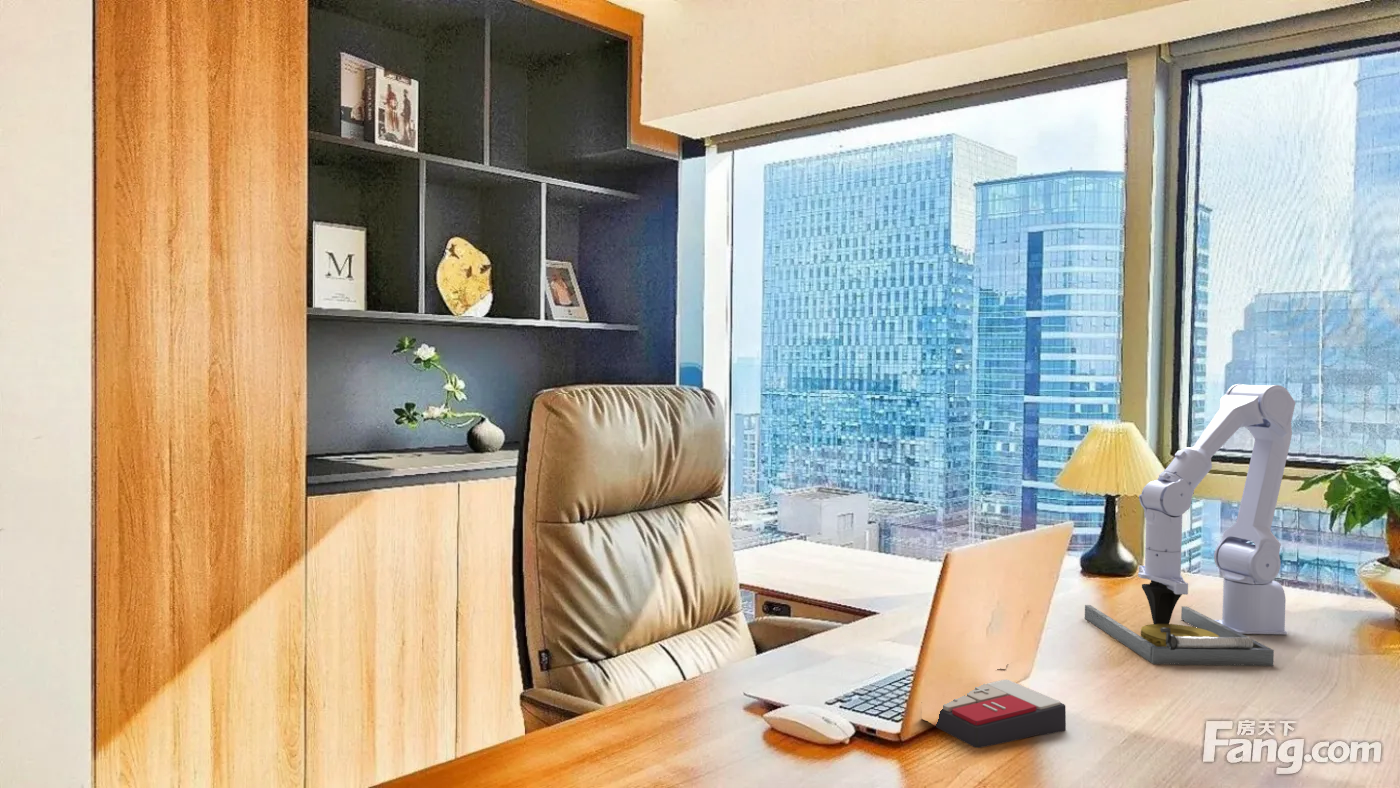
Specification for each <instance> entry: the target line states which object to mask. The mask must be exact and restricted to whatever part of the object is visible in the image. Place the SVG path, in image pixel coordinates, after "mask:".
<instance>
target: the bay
mask: <svg viewBox="0 0 1400 788" xmlns="http://www.w3.org/2000/svg"><path fill="white" fill-rule="evenodd" d="M1084 619H1085V620H1087V621H1088V622H1089V623H1091V624H1093V625H1094V626H1095V627H1097V628H1098V629H1100V630H1102V631H1103V632H1104V633H1105V634H1107V635H1110V636H1111V637H1112V638H1113V639H1115V640H1117V641H1118V642H1120V643H1121V644H1122V645H1124V646H1125V647H1126V648H1128V649H1130V650H1132V652H1135V653H1136V654H1137V655H1139V656H1141V657H1142V658H1143V659H1145V660H1146V661H1147V662H1149V663H1151V664H1152V665H1184V666H1185V665H1187V666H1189V665H1191V666H1192V665H1194V666H1195V665H1196V666H1197V665H1199V666H1201V665H1202V666H1263V667H1264V666H1265V667H1268V666H1269V667H1273V666H1274V663H1275V661H1274V659H1275V658H1274V657H1275V653H1274V652H1275V649H1272V648H1270V647H1268V646H1266V645H1264V644H1262V643H1260V642H1259V641H1258V640H1257V641H1256V640H1255V639H1253V638H1251V637H1248V636H1247V635H1246V634H1241V633H1239V632H1237V631H1235V630H1233V629H1231V628H1229V627H1227V626H1225V625H1223V624H1221V623H1219V622H1217V621H1215V620H1216V619H1213V618H1211V617H1209V616H1207V615H1205V614H1203V613H1201V612H1199V611H1197V610H1195V609H1193V608H1191V607H1189V606H1188V605H1187V606H1181V617H1180V619H1182V620H1181V621H1183V620H1184V621H1183V622H1184V623H1186V622H1187V624H1188V623H1189V625H1190V624H1191V625H1190V626H1192V625H1193V626H1192V627H1194V626H1195V627H1197V628H1200V629H1204V630H1207V631H1210V632H1213V633H1215V634H1217V635H1218V636H1219V637H1186V636H1174V635H1173V634H1170V628H1161V629H1160V630H1161V632H1166V645H1167V647H1157V646H1155V645H1154V644H1152V643H1150V642H1149V641H1147V640H1146V639H1144V638H1142V637H1141V635H1139V634H1137V633H1136V632H1134V631H1133V630H1131V629H1129V628H1128V627H1126V626H1125V625H1123V624H1121V623H1120V622H1118V621H1117V620H1115V619H1114V618H1113V617H1110V616H1109V615H1107V614H1106V613H1103V612H1102V611H1101V610H1099V609H1098V608H1096V607H1094V606H1093V605H1091V604H1085V605H1084Z"/></svg>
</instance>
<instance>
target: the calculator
mask: <svg viewBox="0 0 1400 788" xmlns="http://www.w3.org/2000/svg"><path fill="white" fill-rule="evenodd" d="M1066 709H1067V708H1066V704H1065V703H1063V702H1061V701H1059V700H1057V699H1055V698H1053V697H1050V696H1048V695H1046V694H1043V693H1042V692H1038V691H1036V690H1034V689H1031V688H1029V687H1027V686H1024V685H1021V684H1019V683H1016V682H1015V681H1012V680H1010V679H1001V680H996V681H993V682H989V683H988V682H987V683H984V684H983V685H981V686H979V687H975V689H974V690H972V691H970V692H969V693H967V696H965V695H964V696H962V697H960V698H958V699H954V700H953V701H951V702H949V703H947V704H944V705H943V709H942V710H941V711H940V714H939V719H938V722H937V724H936V727H935V728H937V729H939V730H941V731H943V732H944V733H945V734H946V733H947V734H948V735H950V736H952V737H954V738H956V739H958V740H959V741H962V742H963V743H966V744H967V745H969V746H972V747H973V748H976V749H979V748H984V747H990V746H994V745H1000V744H1004V743H1010V742H1015V741H1018V740H1022V739H1027V738H1030V737H1034V736H1037V735H1040V736H1045V735H1050V734H1054V733H1060V732H1065V731H1066V729H1067V726H1066V725H1067V723H1066V720H1067V717H1066V712H1067V711H1066Z"/></svg>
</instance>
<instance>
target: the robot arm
mask: <svg viewBox="0 0 1400 788" xmlns="http://www.w3.org/2000/svg"><path fill="white" fill-rule="evenodd" d="M1295 407H1296V401H1295V400H1294V398H1293V397H1292V395H1291V393H1290V391H1288V389H1287V388H1286V387H1284V386H1282V385H1279V384H1274V385H1273V384H1271V385H1265V384H1264V385H1263V384H1262V385H1260V384H1259V385H1258V384H1242V383H1237V384H1233V385H1231V386H1230V387H1229V388H1228V389H1227V390H1226V392H1225V394H1224V395H1223V396H1222V397H1221V398H1220V399H1219V409H1218V410H1217V411H1216V413H1215V414H1214V416H1213V417H1212V419H1211V421H1210V422H1209V423H1208V424H1207V426H1206V427H1205V429H1204V430H1203V431H1202V433H1201V434H1200V436H1199V437H1198V439H1197V440H1196V441H1195V443H1194V444H1193V446H1190V447H1189V446H1188V447H1187V446H1186V447H1183V448H1181V450H1177V451H1176V452H1175V454H1174V456H1175V457H1174V458H1173V459H1172V461H1171V462H1170V463H1169V464H1168V465H1167V466H1166V468H1165V469H1164V470H1163V471H1162V472H1160V474H1159V475H1158V478H1157V479H1154V480H1151V481H1149V482H1148V483H1146V484H1145V486H1143V489H1142V491H1141V494H1139V495H1138V501H1139V503H1140V506H1141V508H1142V509H1143V510H1144V517H1143V518H1145V522H1146V525H1145V553H1144V555H1145V557H1144V559H1145V560H1144V565H1138V573H1137V577H1138V578H1141V579H1145V580H1150V582H1149V583H1142V584H1141V589H1142V591H1144V594H1145V597H1146V599H1147V602H1148V605H1149V610H1150V613H1151V618H1152V624H1170V622H1171V619H1172V616H1173V612H1174V609H1175V607H1176V605H1177V604H1178V601H1179V599H1180V598H1181V597H1182V596H1183V595H1187V596H1188V595H1189V583H1188V582H1186V581H1185V579H1184V577H1183V576H1182V575H1181V573H1182V572H1181V570H1182V542H1183V541H1182V538H1183V537H1182V535H1183V515H1184V514H1185V513H1186V512H1187V511H1189V510H1190V508H1191V504H1192V501H1193V499H1192V497H1193V495H1194V493H1195V489H1196V488H1197V487H1198V486H1199V485H1200V484H1201V482H1202V481H1203V480H1204V478H1205V477H1206V476H1207V475H1208V474H1209V472H1210V471H1211V470H1212V468H1213V464H1212V457H1213V456H1215V454H1216V453H1217V452H1218V451H1219V450H1220V449H1221V448H1222V447H1223V446H1224V445H1225V444H1226V443H1227V441H1229V439H1230V438H1231V437H1232V436H1234V434H1235V433H1237V431H1238V430H1239V429H1240V428H1245V429H1247V430H1248V431H1249V433H1250V434H1251V436H1253V438H1254V443H1253V448H1252V452H1251V455H1250V456H1251V457H1250V461H1249V465H1248V470H1247V473H1246V478H1245V482H1244V487H1243V490H1242V491H1243V492H1242V496H1241V500H1240V504H1239V508H1238V514H1237V518H1236V522H1235V523H1234V524H1232V525H1230V526H1229V527H1228V528H1226V529H1225V530H1224V531H1223V534H1222V536H1221V537H1222V538H1221V540H1220V541H1219V542H1218V544H1217V546H1216V547H1215V550H1214V553H1213V559H1214V563H1215V565H1216V567H1217V569H1218V570H1219V571H1220V576H1221V577H1223V581H1222V582H1223V585H1222V587H1223V589H1222V613H1221V614H1222V615H1221V616H1222V617H1221V618H1222V619H1214V620H1215V621H1217V622H1219V623H1221V624H1223V625H1225V626H1227V627H1229V628H1231V629H1233V630H1235V631H1237V632H1239V633H1241V634H1243V635H1246V634H1247V635H1288V632H1287V630H1286V629H1285V628H1286V626H1285V625H1286V624H1285V623H1286V601H1287V600H1286V594H1285V589H1284V587H1283V586H1282V584H1281V583H1279V582H1278V581H1276V580H1274V579H1276V577H1277V576H1278V575H1279V573H1280V571H1281V557H1280V549H1281V546H1282V545H1281V542H1280V541H1279V540H1278V539H1277V537H1276V536H1275V535H1274V534H1273V532H1272V531H1271V529H1272V525H1273V520H1274V517H1275V516H1274V515H1275V511H1276V509H1277V508H1276V507H1277V503H1278V499H1279V494H1280V489H1281V484H1282V481H1283V476H1284V472H1285V467H1286V463H1287V459H1288V454H1289V449H1290V446H1291V442H1292V437H1293V436H1292V435H1293V433H1292V432H1293V431H1292V430H1293V429H1292V420H1293V415H1294V411H1295ZM1248 542H1252V543H1253V544H1252V543H1248Z"/></svg>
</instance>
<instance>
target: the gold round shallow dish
mask: <svg viewBox="0 0 1400 788" xmlns="http://www.w3.org/2000/svg"><path fill="white" fill-rule="evenodd" d="M1161 628H1170V634H1173V635H1174V636H1186V637H1219V636H1218V635H1217V634H1215V633H1213V632H1210V631H1207V630H1204V629H1200V628H1196V627H1194V626H1192V625H1184V624H1173V623H1169V624H1154V623H1149V624H1145V625H1143V626H1141V628H1140V636H1141V637H1142V638H1144V639H1146V640H1147V641H1149V642H1150V643H1152V644H1154V645H1155V646H1157V647H1167V645H1166V632H1161V630H1160V629H1161Z"/></svg>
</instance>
